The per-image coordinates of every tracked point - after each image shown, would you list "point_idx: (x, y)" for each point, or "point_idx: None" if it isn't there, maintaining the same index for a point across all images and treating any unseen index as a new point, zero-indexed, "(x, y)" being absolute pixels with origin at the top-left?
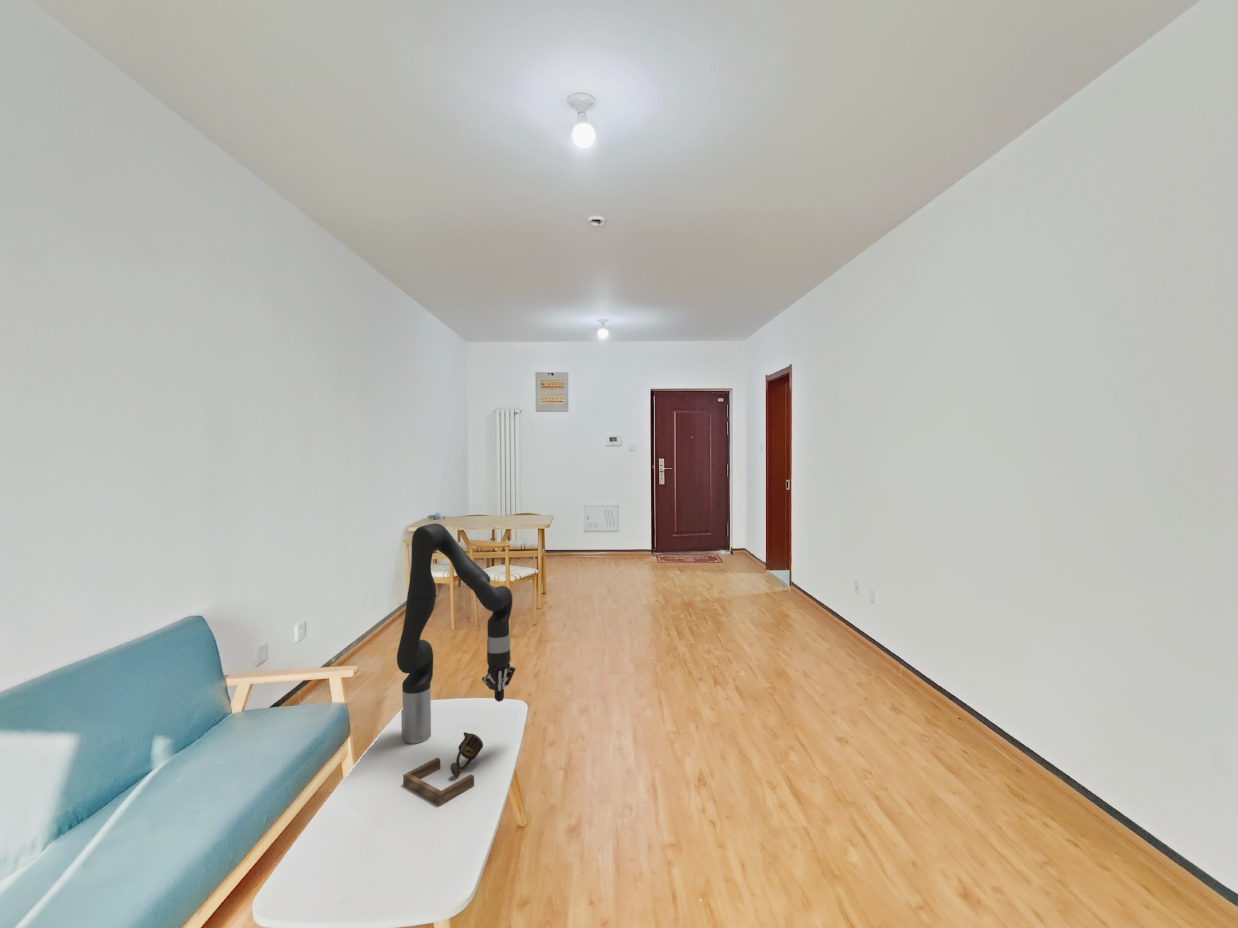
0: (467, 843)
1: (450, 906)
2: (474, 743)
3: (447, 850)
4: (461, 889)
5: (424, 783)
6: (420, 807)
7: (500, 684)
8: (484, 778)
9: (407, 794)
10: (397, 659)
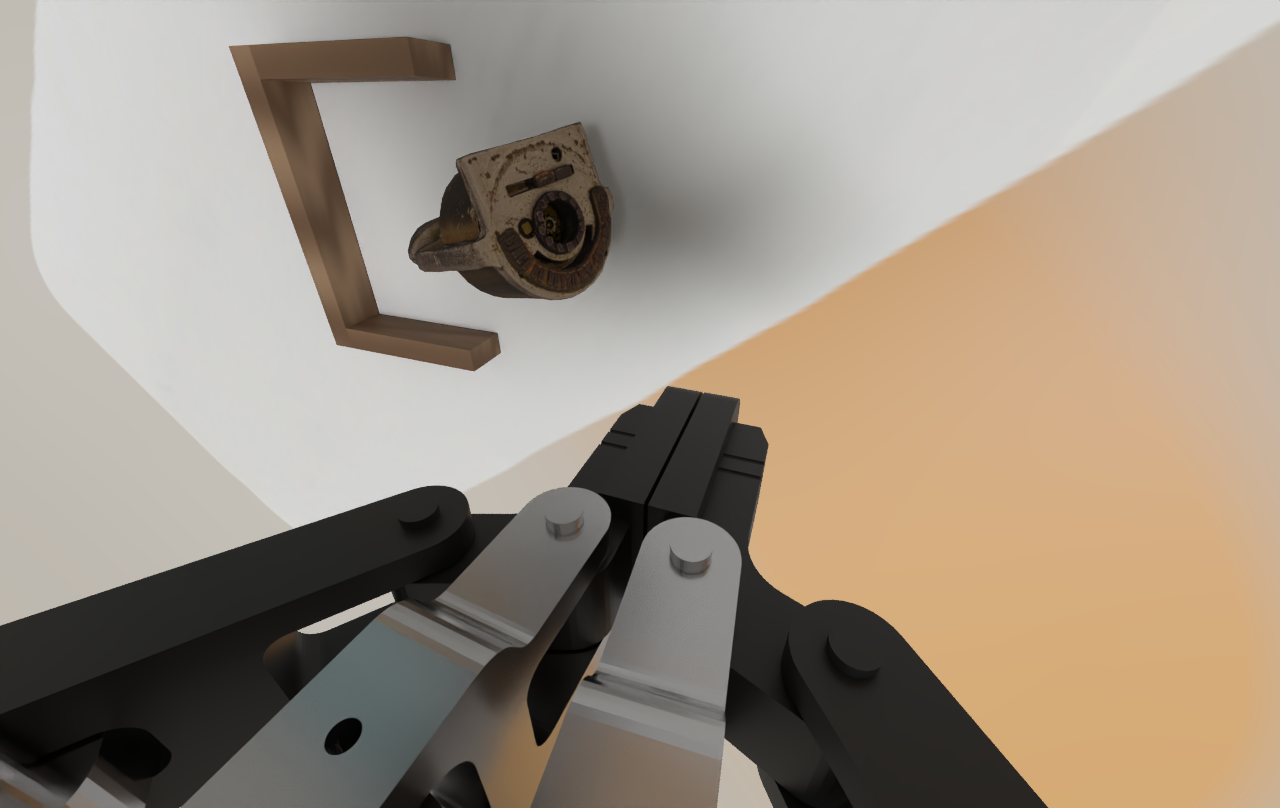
0: (381, 493)
1: None
2: (501, 291)
3: (341, 468)
4: None
5: (305, 223)
6: None
7: (554, 727)
8: (555, 356)
9: None
10: None
